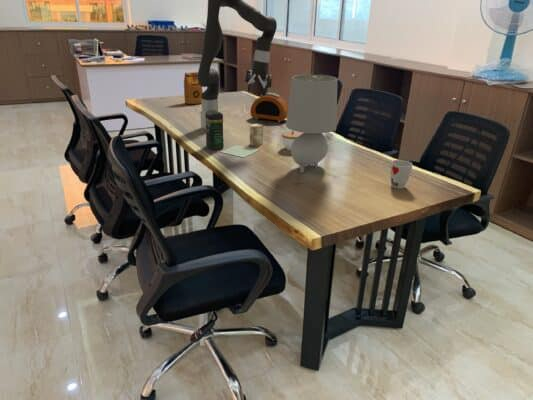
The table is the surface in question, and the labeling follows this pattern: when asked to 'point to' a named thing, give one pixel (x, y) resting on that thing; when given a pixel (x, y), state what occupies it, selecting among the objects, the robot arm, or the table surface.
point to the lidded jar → (289, 138)
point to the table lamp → (311, 116)
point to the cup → (400, 173)
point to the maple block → (256, 134)
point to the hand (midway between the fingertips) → (256, 93)
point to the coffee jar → (214, 129)
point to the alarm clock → (270, 107)
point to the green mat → (239, 151)
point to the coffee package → (192, 89)
